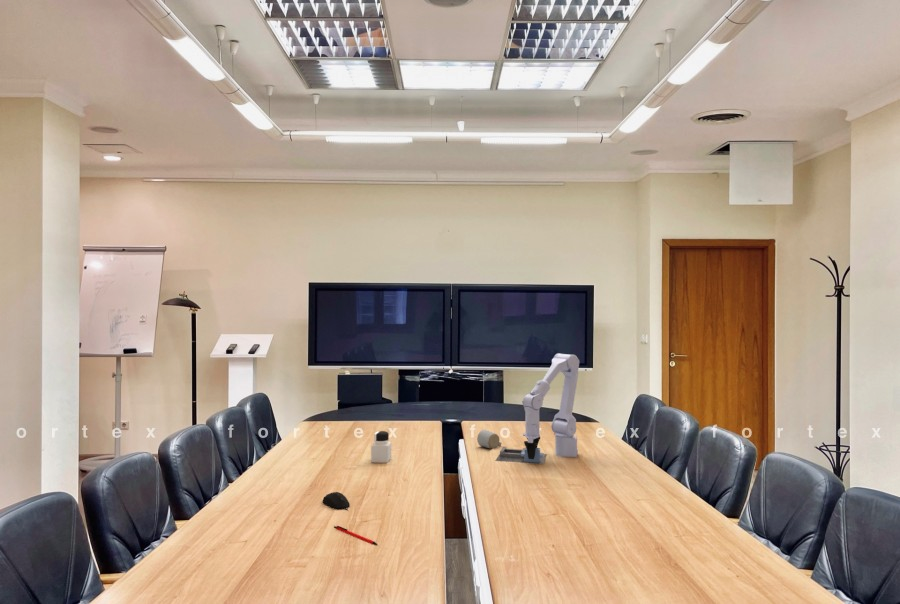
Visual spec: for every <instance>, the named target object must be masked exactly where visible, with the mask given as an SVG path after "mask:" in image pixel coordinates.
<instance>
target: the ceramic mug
mask: <svg viewBox="0 0 900 604" xmlns="http://www.w3.org/2000/svg"><path fill="white" fill-rule="evenodd" d="M476 442H477V444H478V446H480V447H483V448H486V449H490V450H491V449H494V448H498V447H501V446H502V442H500V436H499V434H497V433H496V432H493V431H490V430H487V429H482V430H480V431H479V432H478V434H477V441H476Z"/></svg>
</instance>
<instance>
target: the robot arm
mask: <svg viewBox="0 0 900 604" xmlns="http://www.w3.org/2000/svg"><path fill="white" fill-rule="evenodd" d="M579 366H580V359H579V358H578V357H577V355H576V354H569V353H568V354H566V353H558V352H557V353H556V354H555V355H554V356H553V358H552V359H551V365H550V367H549V369H548V370H547V372H546V373H545V375H544V377H543V379H539V380H537V382H536V383H535V385H534V387H533V388H532V389H531V390H530V393H528V394H526V395H524V397H523V400H522V406H523V408H524V412H525V417H524V418H525V420H524V423H525V433H522V437H526V439H527V440H523V441H524V442H523V444H524V446H525V448H526V449H527V453H528V458H529V459H534V457H535V451H536V448H538V445H539V442H540V439H541V434H540V408H542V406H543V402H544V398H545V397H546V395H547V394H548V393H549V391H550V389H551V387H550V384H552V382H553V381H554V380H555V378H556V377H557V376H558V375H559V373H561V374H563V376H564V381H563V386H562V393H561V399H560V405H559V411H558V412H557V413H555V415H554V418H553V419H552V422H551V431H552V433H553V434H554V435H555V436H554V437H555V439H554V440H555V444H554V445H555V448H554V449H555V455H556V456H558V457H563V458H564V457H565V458H567V457H569V458H571V457H573V458H577V457H578V452H579V451H578V450H579V449H578V436H576V435H575V434H576V432H577V419H576V417H575V416H574V415H573V411H574V410H573V409H574V403H575V397H576V390H577V384H578V377H579V368H580V367H579Z"/></svg>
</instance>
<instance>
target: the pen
mask: <svg viewBox="0 0 900 604" xmlns="http://www.w3.org/2000/svg"><path fill="white" fill-rule="evenodd" d="M333 528H334V529H336V530H338V531H340V532H342V533H345V534H347V535H350V536H352V537H354V538H357V539H359V540H362V541H364V542H367V543H368V544H371V545H373V546H374V545H375V546H379V544H378V543H377V542H375V541H374V540H373V539H370V538H367V537H364V536H362V535H360V534H357V533H355V532H353V531H350V530H348V528H344V527H342V526H339V525H336V526H335V525H333Z"/></svg>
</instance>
